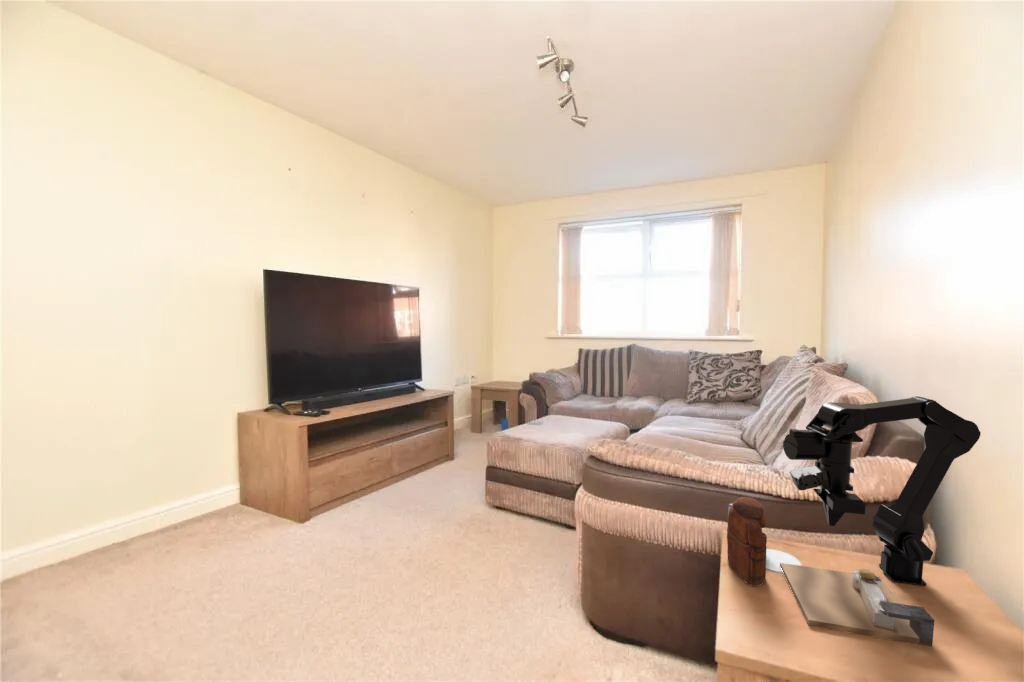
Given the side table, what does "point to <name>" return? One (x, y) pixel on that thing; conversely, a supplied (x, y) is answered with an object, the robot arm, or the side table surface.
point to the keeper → (912, 619)
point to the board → (841, 603)
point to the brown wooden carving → (747, 540)
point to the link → (873, 599)
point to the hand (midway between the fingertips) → (831, 525)
